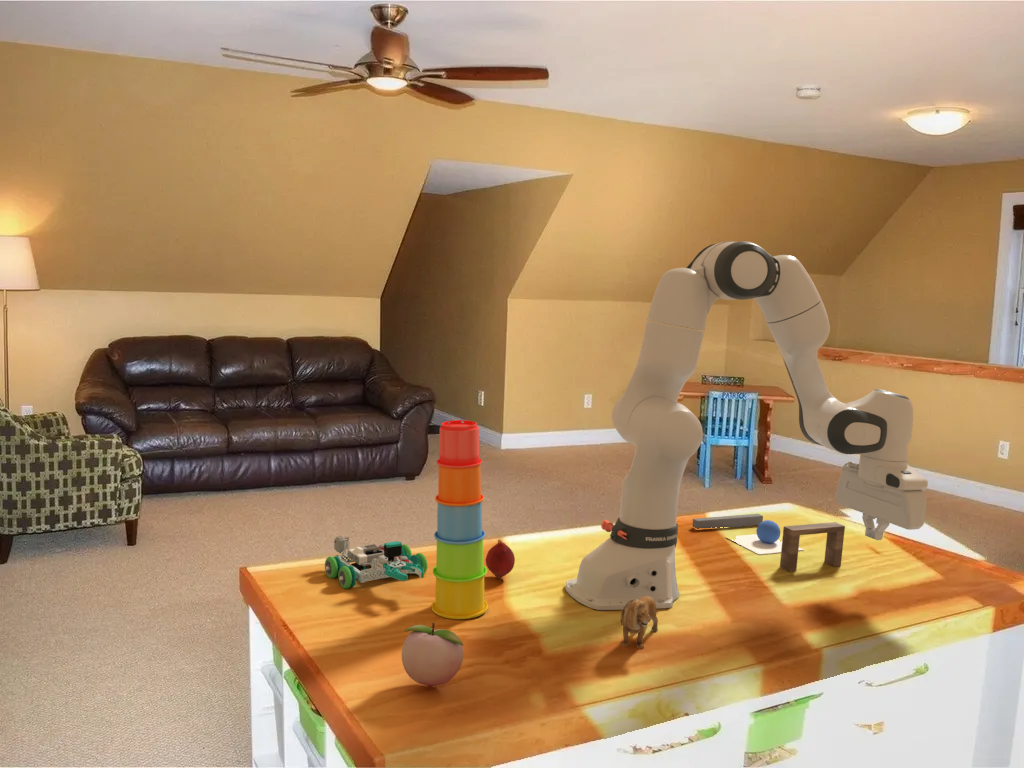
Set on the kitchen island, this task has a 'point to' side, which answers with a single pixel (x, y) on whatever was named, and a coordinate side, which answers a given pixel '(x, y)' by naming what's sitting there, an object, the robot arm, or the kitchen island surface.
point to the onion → (500, 559)
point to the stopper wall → (728, 521)
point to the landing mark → (759, 545)
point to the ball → (768, 531)
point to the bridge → (793, 533)
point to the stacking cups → (459, 524)
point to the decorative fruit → (431, 655)
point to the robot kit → (373, 562)
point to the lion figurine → (638, 619)
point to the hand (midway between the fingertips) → (873, 538)
